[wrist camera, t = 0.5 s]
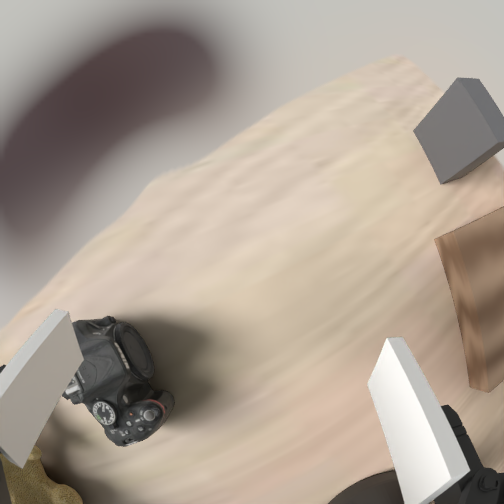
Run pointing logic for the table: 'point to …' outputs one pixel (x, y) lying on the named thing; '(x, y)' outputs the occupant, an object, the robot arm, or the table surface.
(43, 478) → the decorative coral
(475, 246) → the display block
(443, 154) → the tall slate rectangular prism
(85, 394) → the camera
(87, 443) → the table surface
